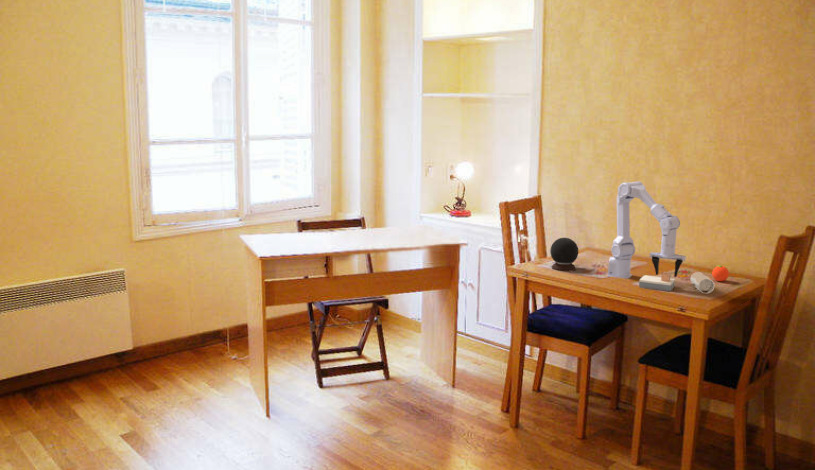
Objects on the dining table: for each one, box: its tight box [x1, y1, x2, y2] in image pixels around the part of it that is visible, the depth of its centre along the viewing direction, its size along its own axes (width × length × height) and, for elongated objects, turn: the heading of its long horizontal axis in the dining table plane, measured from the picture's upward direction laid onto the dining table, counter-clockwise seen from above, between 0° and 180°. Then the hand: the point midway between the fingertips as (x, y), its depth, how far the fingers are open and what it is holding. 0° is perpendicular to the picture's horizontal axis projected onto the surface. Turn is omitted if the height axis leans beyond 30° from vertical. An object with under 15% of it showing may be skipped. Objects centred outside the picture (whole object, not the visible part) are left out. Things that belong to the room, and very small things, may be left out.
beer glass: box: [689, 271, 715, 294], centre depth 324 cm, size 7×7×15 cm
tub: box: [638, 281, 676, 292], centre depth 327 cm, size 13×10×3 cm
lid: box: [638, 271, 676, 286], centre depth 327 cm, size 13×10×4 cm
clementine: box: [711, 265, 730, 282], centre depth 340 cm, size 8×7×7 cm
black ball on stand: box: [549, 237, 579, 272], centre depth 360 cm, size 13×13×15 cm
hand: (666, 275), depth 325 cm, fingers open, 7 cm apart
